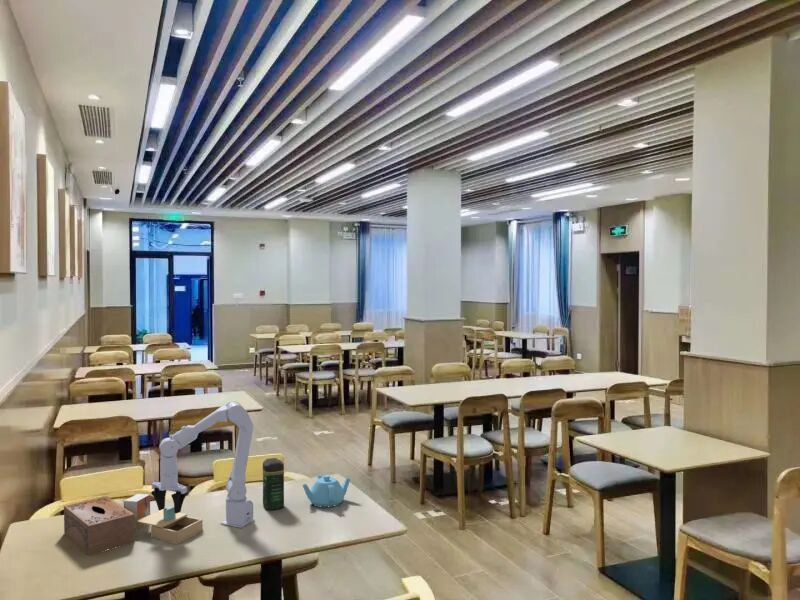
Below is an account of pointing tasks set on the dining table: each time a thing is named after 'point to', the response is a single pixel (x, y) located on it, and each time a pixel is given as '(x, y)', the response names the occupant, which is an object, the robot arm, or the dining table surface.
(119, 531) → the tissue box cover
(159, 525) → the tan flat square block
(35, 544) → the dining table surface
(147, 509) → the small box
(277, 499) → the coffee jar
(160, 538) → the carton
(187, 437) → the robot arm
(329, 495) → the teapot
